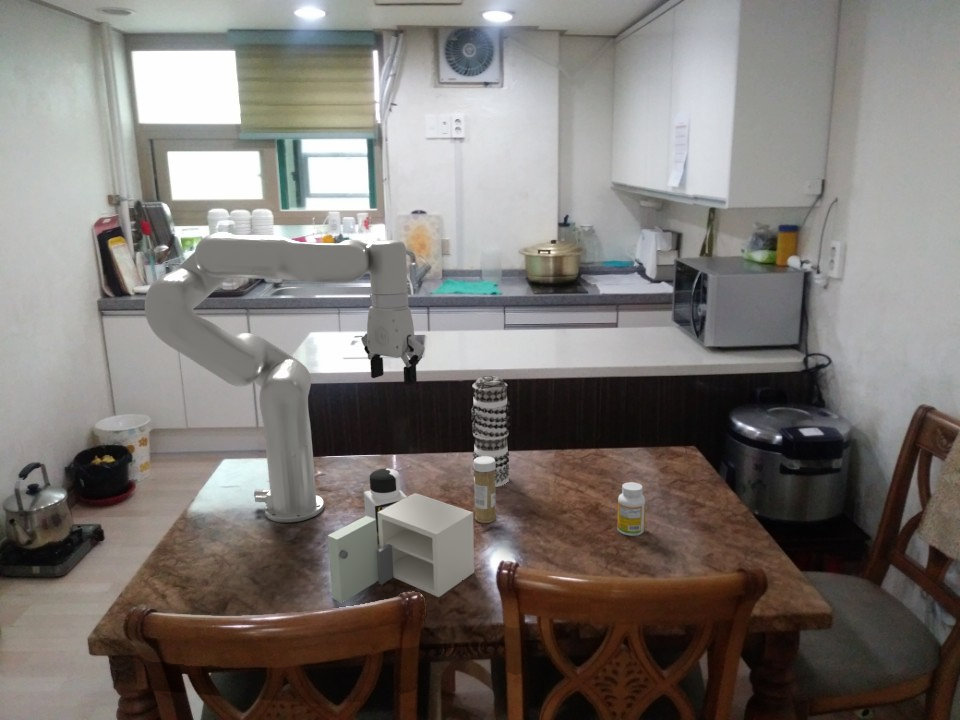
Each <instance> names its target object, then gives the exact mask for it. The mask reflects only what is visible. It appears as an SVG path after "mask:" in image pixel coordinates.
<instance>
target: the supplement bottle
mask: <svg viewBox="0 0 960 720" xmlns="http://www.w3.org/2000/svg"><path fill="white" fill-rule="evenodd" d="M621 486H622V487H621V493H620V494H619V495H618V499H617V519H616V520H617V526H616V527H617V531H618V532H619V533H620V534H622V535H624V536H625V535H626V536H632V537H634V536H636V537H637V536H640V535H642V534H643V533H644V532H645V522H646V521H645V519H646V498H645V496H644V495H643V488H644V487H643V485H642V484H640V483H639V482H633V481H629V482H625V483H623V484H622V485H621Z"/></svg>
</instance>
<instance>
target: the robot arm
mask: <svg viewBox="0 0 960 720" xmlns="http://www.w3.org/2000/svg"><path fill="white" fill-rule="evenodd" d="M407 270H408V265H407V247H406V245H405V243H404V242H403V241H401V240H396V239H384V240H383V239H381V240H375V241H370V240H369V241H366V240H358V239H345V240H342V241H341V242H339V243H315V242H313V243H312V242H301V241H297V240H293V239H290V238H287V237H285V236H278V235H245V234H243V235H240V234H234V233H230V232H227V231H218V232H214V233H211V234H209V235H206V236H204V237H203V238H202V239H200V240H199V242H198V243H197V244H196V246H195V249H194V252H193V253H191V255H189V257H188V258H186V259H185V260H183V262H182V263H181V264H179V265H178V266H177V267H176V268H175V269H173V270H172V271H170V272H168V273H166V274H163V275H161V276H159V277H158V278H157V279H155V280H154V281H153V282H152V283H151V285H150V286H149V288H148V289H147V292H146V295H145V298H144V314H145V317H146V321H147V324H148V327H150V329H151V330H152V332H153V333H154V334H155V336H156V337H158V339H159V340H161V342H163V343H164V344H165V345H167V346H168V347H170V348H172V349H174V351H176V352H178V353H180V354H182V355H184V356H185V357H187V358H188V359H189V360H191V361H192V362H195V364H197V365H199V366H200V367H201V368H203V369H205V370H206V371H209V373H212V374H213V375H214V376H217V377H218V378H220V379H221V380H223V381H225V382H226V383H227V384H229V385H232V386H235V387H241V388H242V387H247V386H248V385H249V386H250V385H251V384H253V383H255V384H256V385H257V386H259V387H260V391H259V409H260V413H261V420H262V424H263V433H264V441H265V442H264V443H265V449H266V451H265V452H266V461H267V470H268V472H267V473H268V481H269V482H268V483H269V488H268V489H260V488H259V489H257V488H256V489H255V490H254V493H253V496H254V502H255V503H265V504H266V505H265V506H264V515H265V517H267V518H268V519H269V520H271V521H274V522H278V523H296V522H303V521H305V520H308V519H311V518H313V517H316V516H317V515H319V514H320V513H321V512H323V510H324V508H325V501H324V499H323V498H322V497H321V496H319V495H318V494H317V492H316V490H317V489H316V477H315V467H314V466H315V464H314V453H313V443H312V442H313V441H312V429H311V421H310V413H309V395H310V389H311V386H312V377H311V374H310V371H309V370H308V367H306V366H305V365H304V363H302V362H300V360H298V359H296V358H295V357H294V356H292V355H290V354H289V353H287V352H285V351H284V350H283V349H281V348H279V347H278V346H276V345H274V344H273V343H271V342H270V341H268V340H267V339H265V338H264V337H261V336H259V335H256V334H253V333H250V332H249V333H248V332H243V333H242V332H241V333H237V334H235V335H232V334H231V333H229V332H227V331H226V330H224V329H222V328H221V327H220V326H218V325H217V324H216V323H213V322H212V321H210V320H207V319H205V318H203V317H201V316H198V314H197V313H196V312H195V311H194V309H195V308H196V307H197V306H198V307H199V305H200V304H202V302H204V301H205V300H206V299H207V298H208V297H210V295H211V294H212V293H214V292H215V291H216V290H217V289H218V288H219V287H220V286H221V285H223V283H225V282H226V281H227V280H228V279H261V280H262V279H265V280H266V279H268V280H272V279H273V280H283V281H295V282H296V281H298V282H310V283H341V284H343V283H352V282H353V283H355V282H356V281H359V280H360V279H362V278H363V277H364V275H365V274H369V279H370V295H369V298H370V300H371V306H369V309H368V315H367V325H366V326H367V327H366V328H367V329H366V331H367V332H366V334H365V335H364V336H361V338H360V339H361V342H362V345H363V347H364V351H365V353H366V354H367V359H368V360H369V362H370V363H369V364H370V377H371V379H376V378H379V377H383V376H384V359H383V357H381V356H385V357H389V358H395V359H399V358H401V360H402V362H403V364H404V366H403V385H404V386H410V385H413V384H416V383H417V380H418V379H417V377H418V376H417V365H419V362H420V361H421V359H422V358H423V355H424V352H425V350H426V349H425V346H424V345H423V344H422V343H420V342H419V341H418V340H417V339H416V338H415V328H414V322H413V315H412V311H411V307H409V292H408V291H409V290H408V271H407Z"/></svg>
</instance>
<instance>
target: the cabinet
mask: <svg viewBox="0 0 960 720" xmlns="http://www.w3.org/2000/svg"><path fill="white" fill-rule="evenodd" d="M378 531H379V536H378V543H379V549H378V550H377V565H378V581H377V582H378V584H379V585H381V586H382V585H384V584H386V583H387V582H388V581H390V580H392V579H396V580H399V581H401V582H403V583H405V584H407V585H409V586H412V587H415V588H417V589H419V590H421V591H424V592H425V593H429V594H430V595H433V596H434V597H437V598H440V597H441V596H443V595H444V594H446V593H447V592H448V591H450V590H451V589H452V588H454V587H455V586H457V585H458V584H460V583H461V582H463V581H464V580H465V579H467V578H469V577H470V576H471V575H473V574H474V573H475V548H474V547H475V545H474V544H475V543H474V537H475V536H474V512H473V511H472V510H471V511H470V510H467V509H465V508H462V507H459V506H456V505H452V504H449V503H446V502H443V501H440V500H439V499H434V498H431V497H428V496H425V495H422V494H419V493H417V492H414V493H412V494H410V495H408V496H407V497H406V498H404V499H402V500H400V501H398V502H397V503H395V504H393V505H391V506H389V507H387V508H385V509H383V510H381V511H379V512H378ZM462 580H463V581H462Z"/></svg>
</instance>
